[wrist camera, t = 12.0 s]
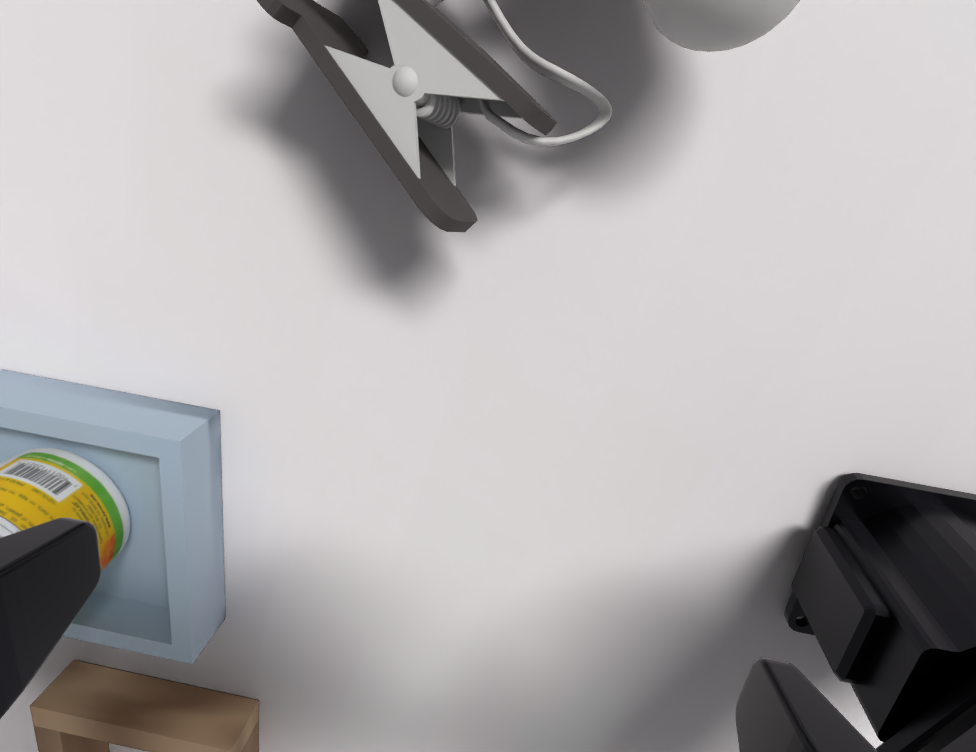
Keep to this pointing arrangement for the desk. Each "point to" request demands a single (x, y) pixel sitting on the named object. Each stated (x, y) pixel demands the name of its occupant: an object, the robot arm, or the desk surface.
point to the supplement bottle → (62, 496)
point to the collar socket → (139, 714)
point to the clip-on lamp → (475, 80)
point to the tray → (138, 507)
